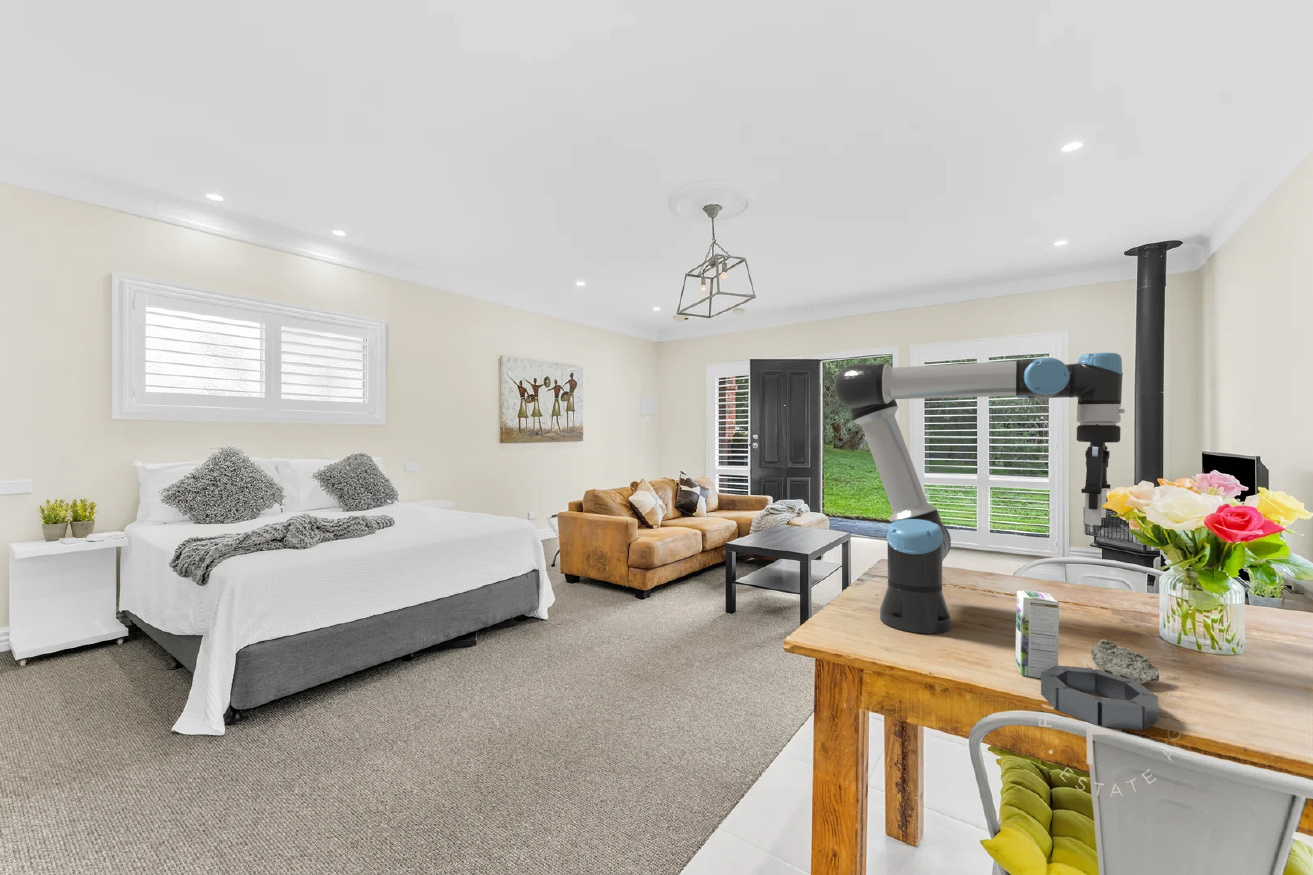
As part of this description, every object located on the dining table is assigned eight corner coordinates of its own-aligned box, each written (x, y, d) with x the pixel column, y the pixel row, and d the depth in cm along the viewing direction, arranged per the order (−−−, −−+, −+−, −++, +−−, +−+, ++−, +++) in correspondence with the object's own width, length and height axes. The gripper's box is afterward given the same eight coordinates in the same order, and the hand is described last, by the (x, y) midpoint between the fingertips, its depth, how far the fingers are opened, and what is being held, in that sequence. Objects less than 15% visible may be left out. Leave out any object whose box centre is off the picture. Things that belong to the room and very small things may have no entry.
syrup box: (1014, 663, 107) (1014, 589, 106) (1051, 668, 104) (1051, 592, 104) (1021, 676, 101) (1021, 597, 101) (1060, 681, 99) (1060, 601, 99)
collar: (1069, 723, 85) (1069, 700, 85) (1029, 682, 99) (1029, 663, 99) (1177, 733, 82) (1177, 710, 82) (1121, 690, 95) (1121, 670, 95)
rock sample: (1087, 662, 98) (1108, 624, 101) (1074, 675, 104) (1094, 639, 106) (1158, 704, 92) (1179, 662, 95) (1140, 715, 98) (1159, 676, 100)
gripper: (1117, 423, 109) (1114, 530, 110) (1123, 424, 128) (1120, 516, 128) (1070, 423, 114) (1067, 525, 115) (1082, 424, 133) (1080, 512, 133)
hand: (1095, 520), depth 122 cm, fingers open, 13 cm apart
